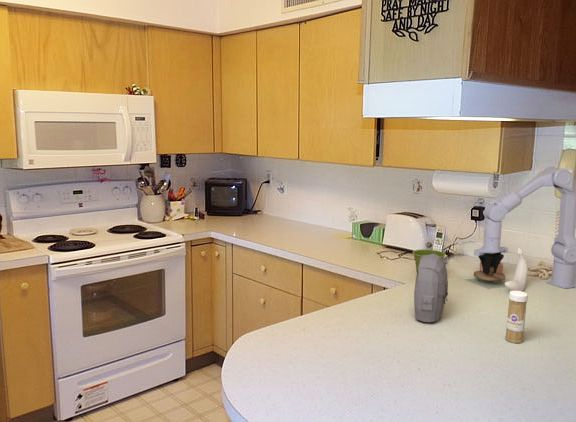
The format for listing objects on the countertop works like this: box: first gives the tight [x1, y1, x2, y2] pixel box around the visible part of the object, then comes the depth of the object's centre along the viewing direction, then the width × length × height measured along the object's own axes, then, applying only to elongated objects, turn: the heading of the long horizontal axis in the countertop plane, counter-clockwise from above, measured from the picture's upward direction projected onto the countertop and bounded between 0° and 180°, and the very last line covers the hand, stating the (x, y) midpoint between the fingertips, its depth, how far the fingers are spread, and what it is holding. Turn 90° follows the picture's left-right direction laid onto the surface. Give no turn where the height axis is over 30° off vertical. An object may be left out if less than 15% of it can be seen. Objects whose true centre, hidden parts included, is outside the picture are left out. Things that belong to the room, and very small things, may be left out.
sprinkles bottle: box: [504, 291, 529, 344], centre depth 138 cm, size 5×5×14 cm
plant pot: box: [412, 248, 447, 272], centre depth 190 cm, size 12×12×11 cm
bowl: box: [478, 260, 504, 274], centre depth 205 cm, size 8×8×4 cm
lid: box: [473, 266, 506, 281], centre depth 190 cm, size 11×11×4 cm
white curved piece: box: [504, 246, 529, 292], centre depth 180 cm, size 5×19×15 cm, turn 146°
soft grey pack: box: [413, 254, 449, 323], centre depth 152 cm, size 15×8×20 cm, turn 152°
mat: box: [464, 277, 506, 290], centre depth 191 cm, size 12×12×1 cm
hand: (489, 272), depth 190 cm, fingers closed on lid, 3 cm apart
